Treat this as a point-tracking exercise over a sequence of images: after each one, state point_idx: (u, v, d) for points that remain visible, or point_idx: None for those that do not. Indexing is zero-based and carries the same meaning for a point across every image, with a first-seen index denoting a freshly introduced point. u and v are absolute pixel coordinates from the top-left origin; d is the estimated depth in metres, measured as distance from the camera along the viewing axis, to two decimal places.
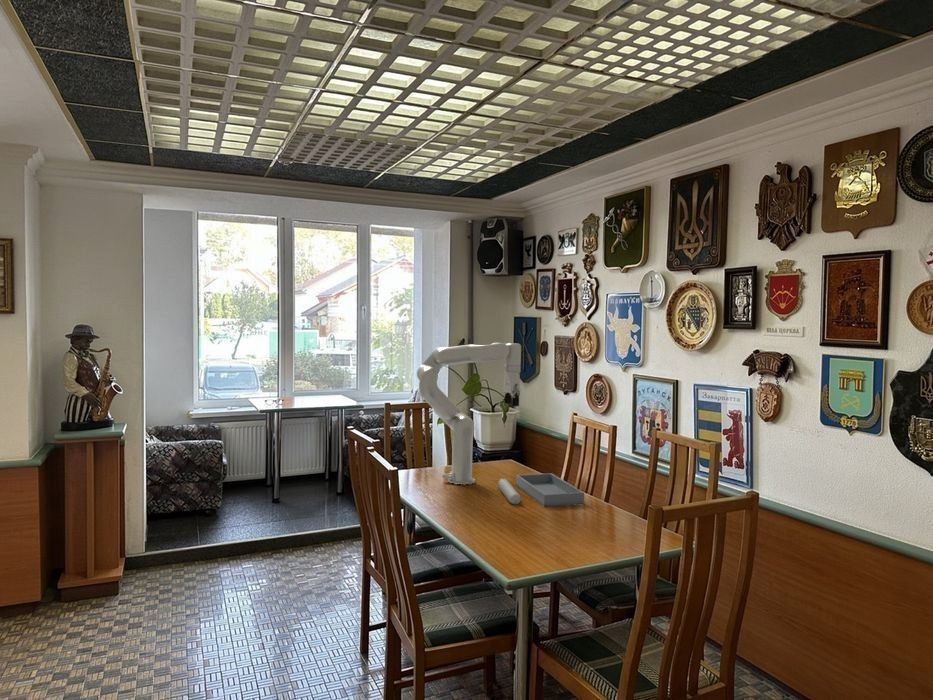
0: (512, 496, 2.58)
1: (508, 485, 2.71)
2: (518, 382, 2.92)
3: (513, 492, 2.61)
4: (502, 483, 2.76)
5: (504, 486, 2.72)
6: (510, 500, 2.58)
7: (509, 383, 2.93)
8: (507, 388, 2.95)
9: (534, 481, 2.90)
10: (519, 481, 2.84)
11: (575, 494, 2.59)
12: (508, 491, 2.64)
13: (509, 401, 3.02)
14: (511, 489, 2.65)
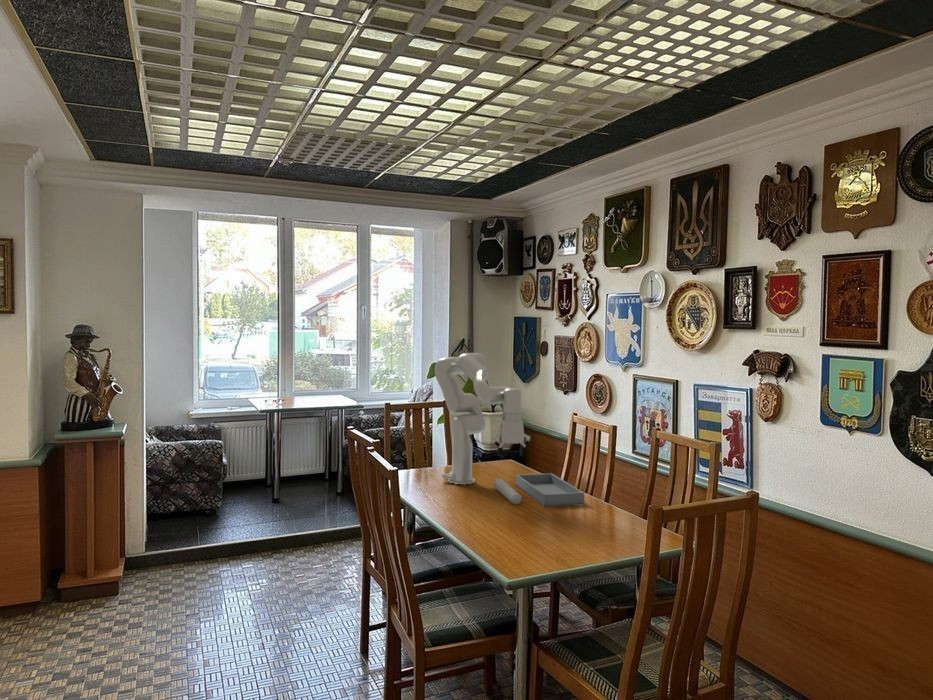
0: (513, 496, 2.58)
1: (506, 485, 2.71)
2: None
3: (514, 492, 2.61)
4: (499, 483, 2.76)
5: (502, 486, 2.72)
6: (511, 500, 2.58)
7: (520, 432, 2.67)
8: (516, 439, 2.66)
9: (534, 481, 2.90)
10: (519, 481, 2.84)
11: (575, 494, 2.59)
12: (508, 491, 2.64)
13: None
14: (511, 489, 2.65)
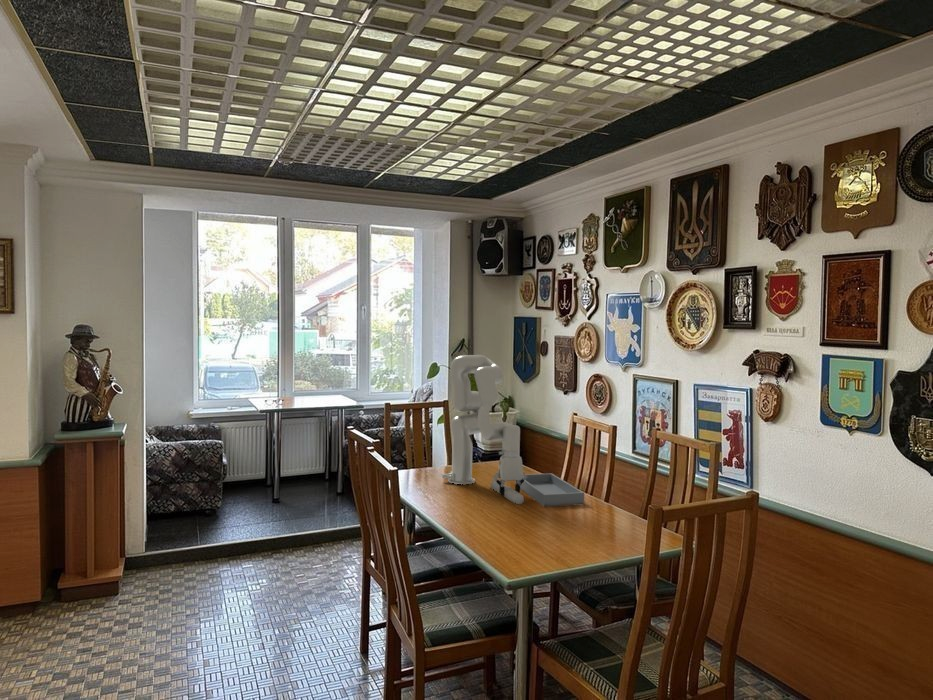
0: (516, 497, 2.58)
1: (506, 486, 2.71)
2: None
3: (516, 493, 2.61)
4: (497, 484, 2.76)
5: None
6: (514, 501, 2.59)
7: (519, 469, 2.67)
8: (514, 476, 2.67)
9: (534, 481, 2.90)
10: None
11: (575, 494, 2.59)
12: (509, 492, 2.64)
13: None
14: (512, 490, 2.65)
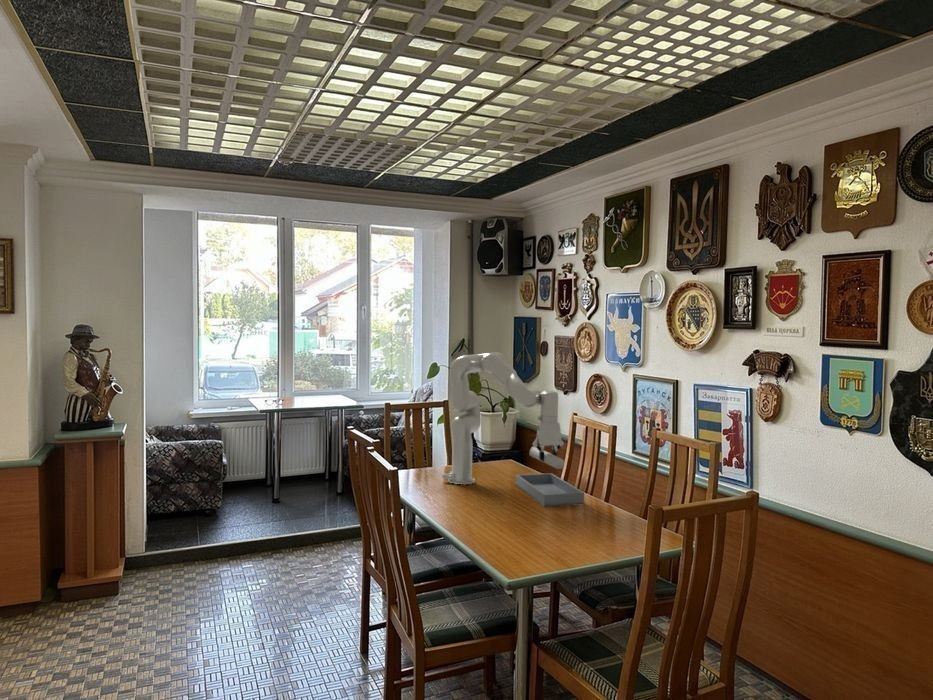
0: (557, 461, 2.63)
1: (545, 452, 2.75)
2: None
3: (556, 457, 2.65)
4: (536, 450, 2.80)
5: None
6: (555, 465, 2.63)
7: (557, 435, 2.72)
8: (553, 441, 2.71)
9: (534, 481, 2.90)
10: (519, 481, 2.84)
11: (575, 494, 2.59)
12: (549, 457, 2.68)
13: None
14: (552, 455, 2.69)
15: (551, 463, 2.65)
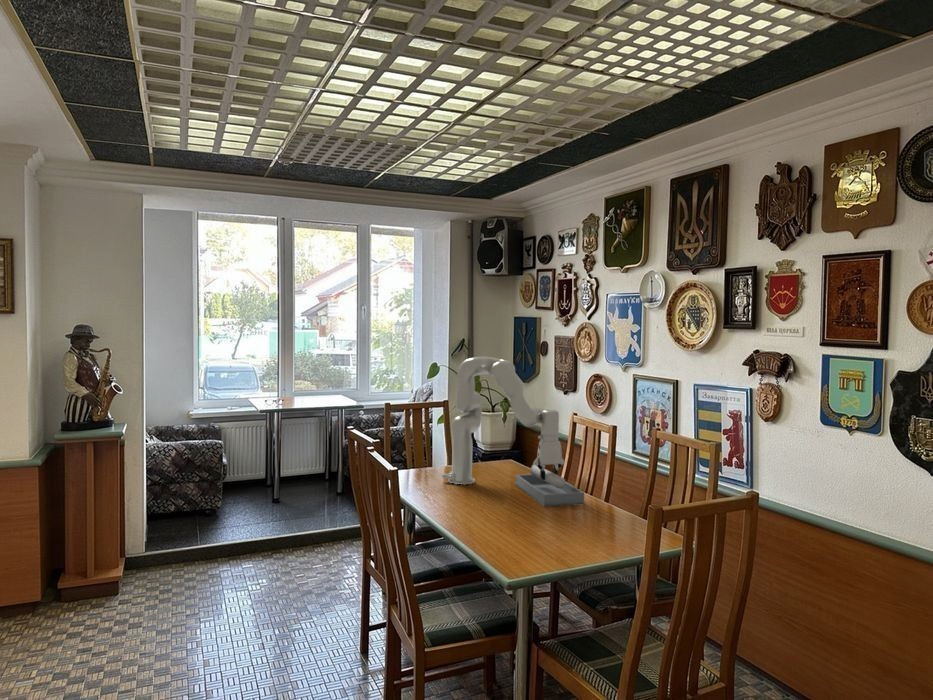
0: (558, 480, 2.63)
1: (546, 470, 2.76)
2: None
3: (557, 476, 2.66)
4: (537, 469, 2.80)
5: None
6: (556, 484, 2.63)
7: (558, 453, 2.72)
8: (554, 459, 2.71)
9: (534, 481, 2.90)
10: (519, 481, 2.84)
11: (575, 494, 2.59)
12: (550, 476, 2.69)
13: None
14: (552, 474, 2.70)
15: (552, 482, 2.66)
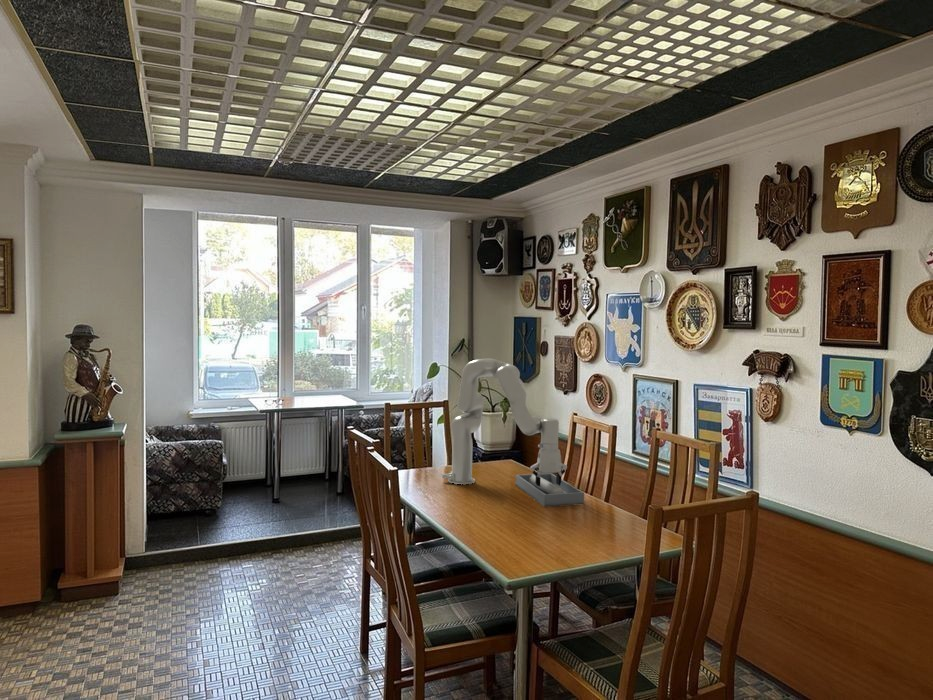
0: (556, 491, 2.63)
1: (545, 480, 2.76)
2: None
3: (556, 487, 2.66)
4: None
5: (541, 481, 2.76)
6: None
7: (558, 462, 2.72)
8: (553, 468, 2.72)
9: None
10: (519, 481, 2.84)
11: (575, 494, 2.59)
12: (549, 486, 2.69)
13: None
14: (551, 484, 2.70)
15: (551, 493, 2.66)
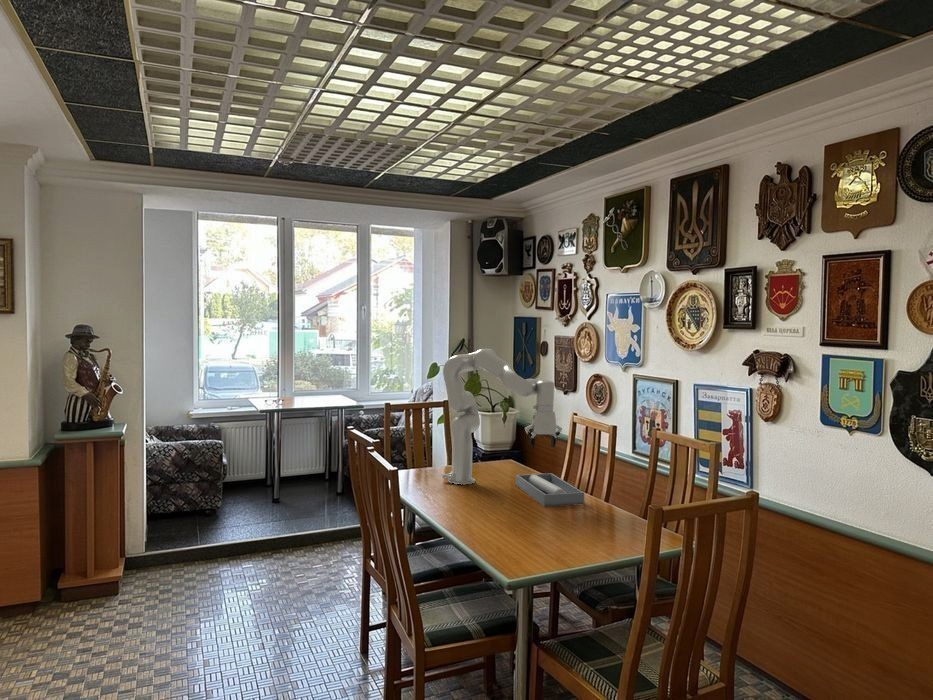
0: (557, 491, 2.63)
1: (544, 480, 2.76)
2: None
3: (556, 487, 2.66)
4: (536, 479, 2.81)
5: (541, 481, 2.76)
6: None
7: (552, 424, 2.74)
8: (548, 430, 2.73)
9: None
10: (519, 481, 2.84)
11: (575, 494, 2.59)
12: (549, 486, 2.69)
13: None
14: (551, 484, 2.70)
15: (551, 493, 2.66)
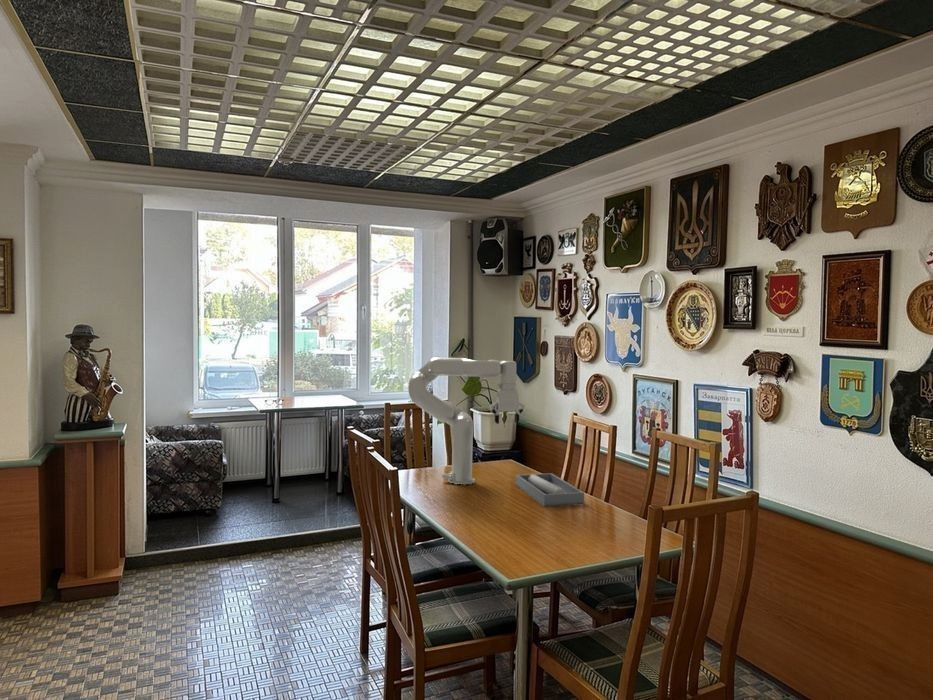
0: (557, 491, 2.63)
1: (544, 480, 2.76)
2: None
3: (556, 487, 2.66)
4: (535, 479, 2.80)
5: (540, 481, 2.76)
6: None
7: (515, 401, 2.90)
8: (511, 407, 2.90)
9: None
10: (519, 481, 2.84)
11: (575, 494, 2.59)
12: (549, 486, 2.69)
13: None
14: (551, 484, 2.70)
15: (551, 493, 2.66)
